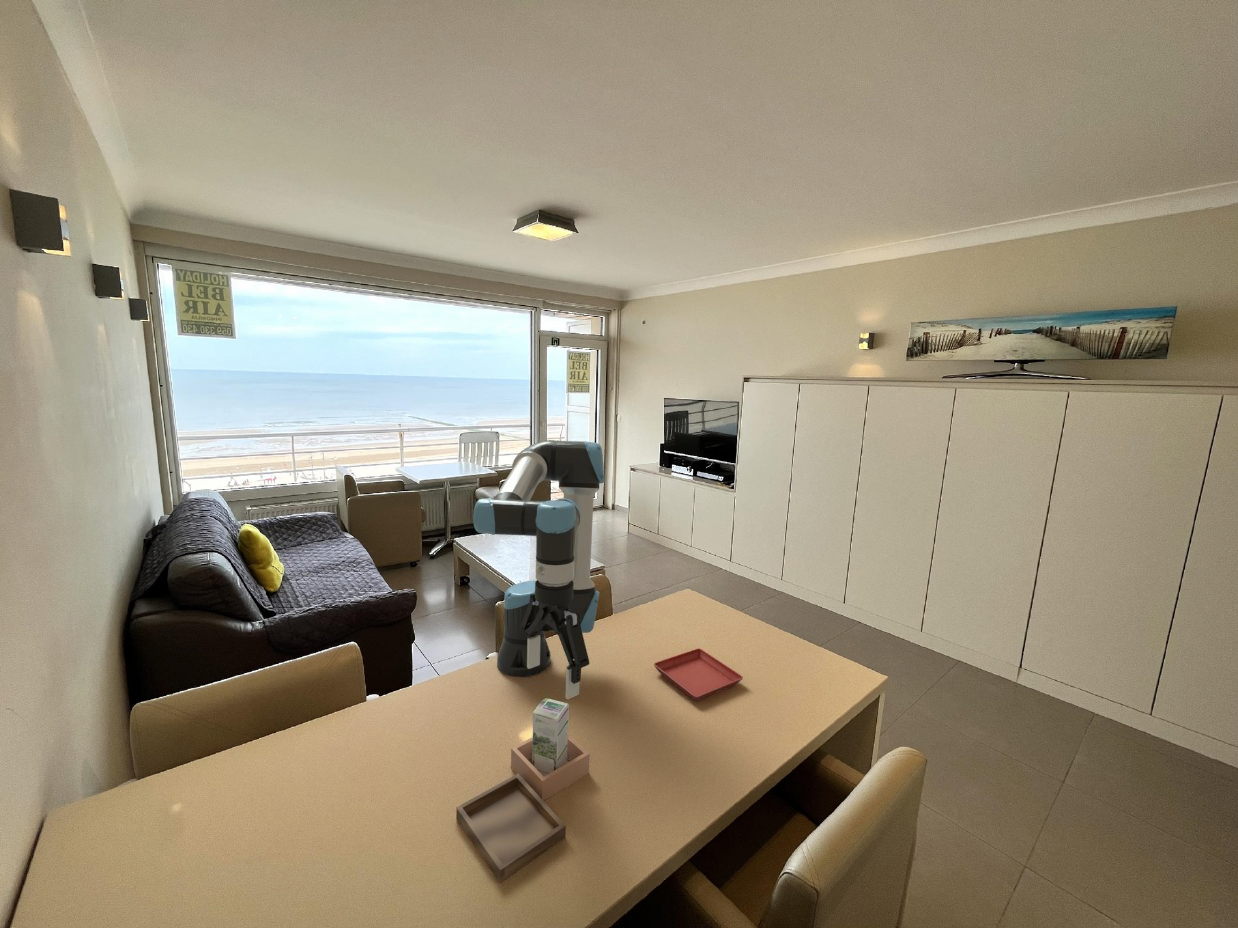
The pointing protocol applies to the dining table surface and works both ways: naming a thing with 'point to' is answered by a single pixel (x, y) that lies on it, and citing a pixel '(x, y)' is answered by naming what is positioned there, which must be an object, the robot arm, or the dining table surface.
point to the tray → (510, 826)
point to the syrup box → (550, 735)
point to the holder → (555, 779)
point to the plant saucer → (698, 674)
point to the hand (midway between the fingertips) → (551, 680)
